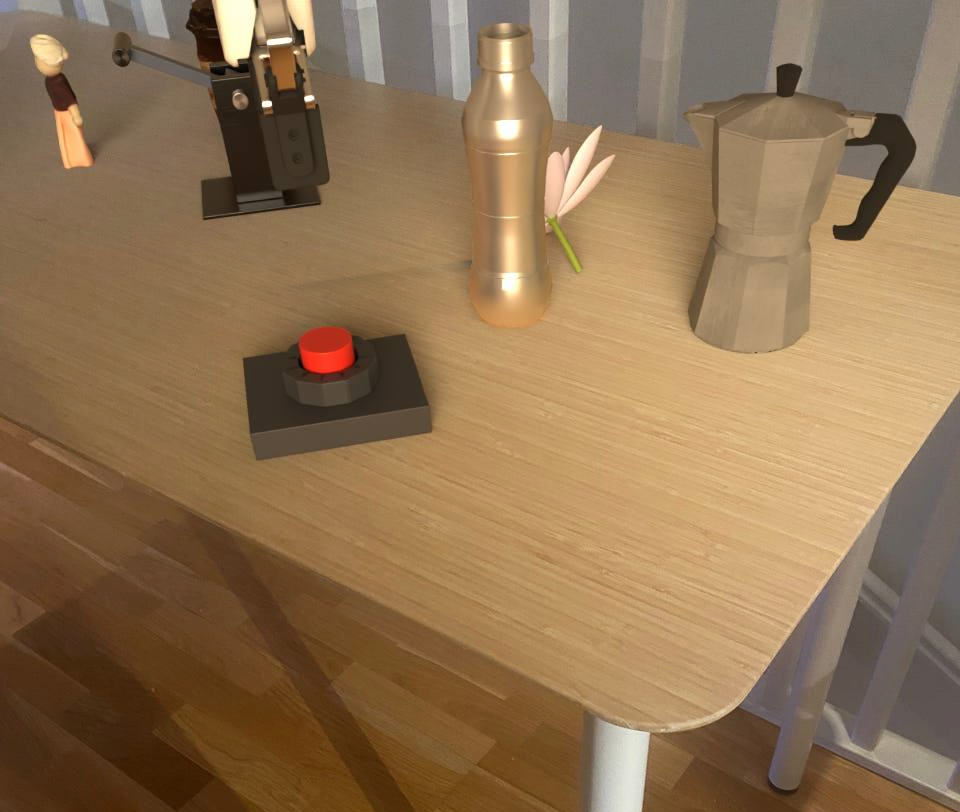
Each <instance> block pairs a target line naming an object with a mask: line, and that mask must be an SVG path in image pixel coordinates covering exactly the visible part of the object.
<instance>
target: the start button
mask: <svg viewBox="0 0 960 812" xmlns="http://www.w3.org/2000/svg"><path fill="white" fill-rule="evenodd" d="M351 335H352V334H351V333H350V332H349V331H348V330H347V329H345V328H342V327H339V326H321V327H316V328H313V329H310V330H308V331H306V332H305V333H303V334H302V335H301V336H300V338H299V340H298V342H299V349H300V354H301V359H302V364H303V368H304V369H305V370H306V371H307V372H308V373H315V374H323V375H324V374H331V373H338V372H341V371H343V370H345V369H347V368H350V367H352V366H353V364H354V362H355V355H354V349H353V342H352V336H351Z"/></svg>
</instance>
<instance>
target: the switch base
mask: <svg viewBox="0 0 960 812" xmlns="http://www.w3.org/2000/svg"><path fill="white" fill-rule="evenodd" d="M351 336H352V342H353V349H354V355H355V362H354V364H353V366H352V367H350V368H347V369H345V370H343V371H341V372H338V373H331V374H324V375H323V374H315V373H308V372H307V371H306V370H305V369H304V368H303V364H302V359H301V354H300V349H299V341H298V342H295V343H294V344H291V345H290V347H288V349H287V350H286V351H280V352H273V353H268V354H267V353H266V354H260V355H254V356H247V357H242V367H243V377H244V387H245V398H246V409H247V419H248V428H249V430H248V431H249V436H250V440H251V444H252V448H253V453H254V456H255V460H256V461H257V462H259V461H265V460H272V459H277V458H284V457H290V456H296V455H302V454H307V453H315V452H320V451H328V450H334V449H338V448H339V449H340V448H346V447H350V446H357V445H365V444H369V443H376V442H382V441H388V440H389V441H390V440H394V439H402V438H407V437H413V436H419V435H426V434H431V433H432V432H433V431H432V419H431V409H430V404H429V401H428V398H427V395H426V392H425V389H424V385H423V383H422V380H421V376H420V374H419V371H418V368H417V365H416V362H415V359H414V356H413V354H412V350H411V346H410V344H409V342H408V338H407V335H406V333H400V334H394V335H388V336H381V337H373V338H367V339H364V338H363V337H361V336H359V335H354V334H351Z"/></svg>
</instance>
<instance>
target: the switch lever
mask: <svg viewBox="0 0 960 812" xmlns="http://www.w3.org/2000/svg"><path fill="white" fill-rule="evenodd" d="M111 58H112V61H113V63H114V64H115V65H116V66H118V67H120V68H125V67H127V66H129V65H130V63H131V62H134V63H136V64H139V65H142V66H145V67H148V68H151V69H153V70H156V71H158V72H162V73H165V74H167V75H171V76H173V77H176V78H179V79H182V80H185V81H186V82H187V81H188V82H191V83H193V84H196V85H199V86H202V87H205V88H206V89H207V88H210V89H212V85H211V80H210V77H214V76H218V75H216V74H213V73H210V72H207V71H204V70H202V69H201V68H198V67H196V66H193V65H191V64H188V63H186V62H185V63H184V62H182V61H179V60H176V59H173V58H171V57H168V56H165V55H163V54H159V53H157V52H154V51H151V50H149V49H146V48H143V47H140V46H136V45H135V44H133V41H132V38H131V36H130V35H129V34H128V33H126V32H124V31H119V32H117V33H116V34H115V35H114V39H113V45H112V53H111ZM231 74H240V73H239V72H236V71H234V70H231V69H228V68H226V69H225V74H224V75H231Z"/></svg>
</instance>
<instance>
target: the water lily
mask: <svg viewBox="0 0 960 812" xmlns="http://www.w3.org/2000/svg"><path fill="white" fill-rule="evenodd" d="M602 129H603V124H601V125H598V126H597V128H595V129H594V130H593V131H592V132H591V133H590V134H589V135H588V137H587V138H586V139H585V141H584V142H583V143H582V145H580V147H579V149H578V151H577V153H576V154H575V155H574V158H573V160H572V162H571V159H570V158H571V155H570V154H571V153H570V151H571V150H570V146H569V145H568V146H567V148H566V149H565V150H564V152H563V153H562V154H561V153H560V152H559V151H554V152H553V151H552V153H551V154H550V155H549V158H548V165H547V172H546V191H545V197H544V200H545V209H544V218H545V232H546V235H547V234H550V233H552V232H554V233H555V235H556V237H557V239H558V240H559V242H560V244H561V246H562V248H563V250H564V252H565V253H566V255H567V257H568V260H569V261H570V263H571V265H572V267H573V270H574V271H575V273H576V274H578V273H580V272H581V271H583V270H584V268H583V266H582V264H581V262H580V260H579V258H578V257H577V255H576V253H575V251H574V250H573V249H574V248H573V247H572V246H571V244H570V242H569V240H568V239H567V237H566V235H565V234H564V231H563V230H562V228H561V227H560V225H561V223H562V221H563V217H564V216H565V215H566V214H568V213H569V212H570V211H572V210H573V209H574V208H575V207H576V206H578V205H579V204H580V203H581V202H582V201H583V200H584V199H585V198H586V197H587V196H588V195H589V194H590V193H592V191H593V190H594V189H595V188H596V186H597V185H598V184H599V183H600V181H601V180H602V178H603V177H604V176H605V174H606V173H607V171H608V170H609V168H610V166H611V165H612V163H613V161H614V159H615V158H616V156H617V155H616V154H612V155H609V156H607V157H606V158H604V159H603V160H601V161H599V162H598V163H597V165H595V167H593V168H592V169H591V171H590V172H589V173H588V174H587V175H586V172H587V171H588V169H589V166H590V164H591V162H592V159H593V158H594V156H595V152H596V149H597V146H598V143H599V140H600V137H601V133H602ZM585 175H586V176H585ZM584 177H585V178H584ZM583 178H584V179H583ZM582 180H583V181H582Z"/></svg>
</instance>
